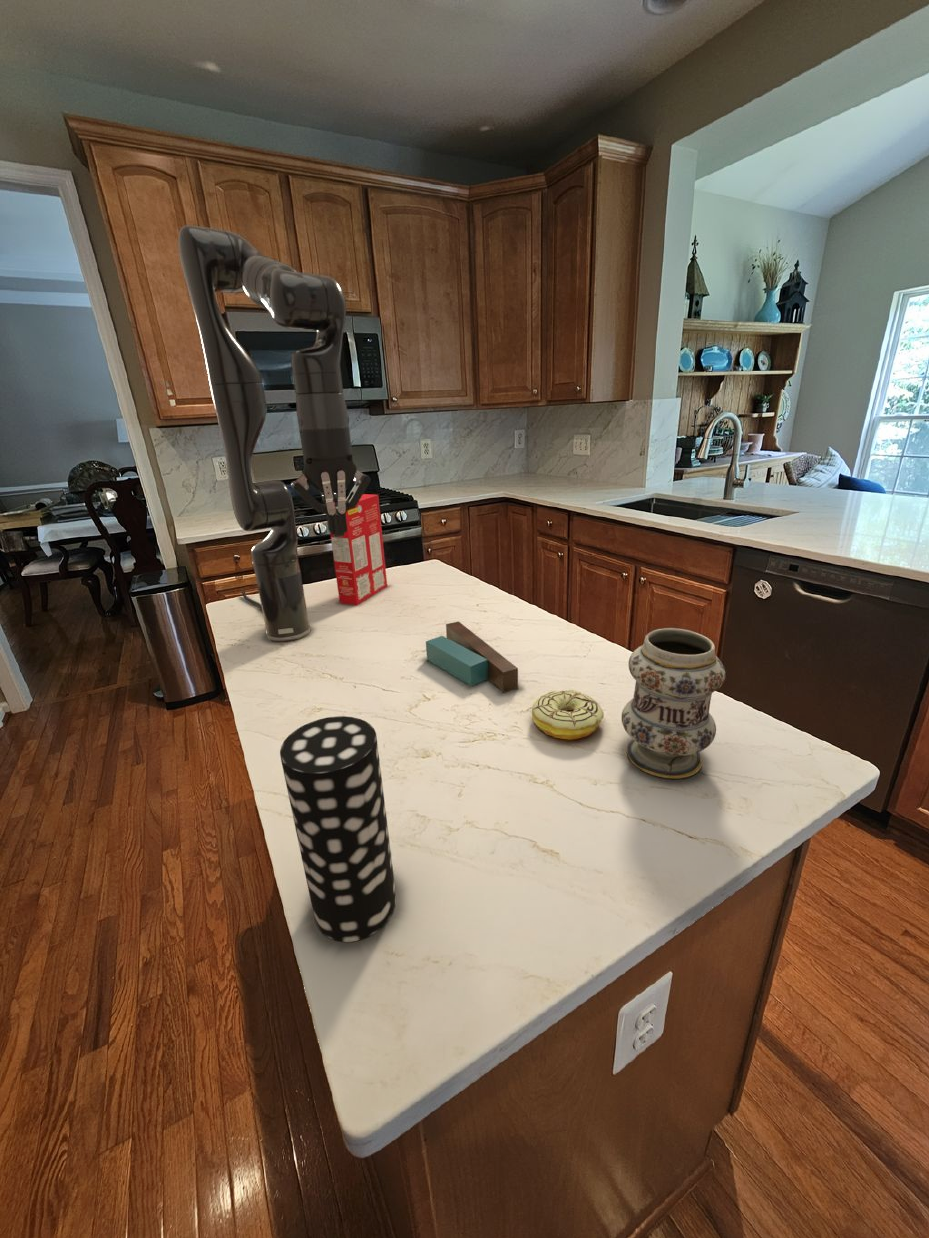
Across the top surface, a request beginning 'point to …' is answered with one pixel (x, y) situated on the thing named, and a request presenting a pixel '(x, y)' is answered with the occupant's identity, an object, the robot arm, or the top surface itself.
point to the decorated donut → (567, 714)
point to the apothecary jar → (672, 702)
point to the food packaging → (360, 553)
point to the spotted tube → (341, 825)
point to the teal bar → (457, 660)
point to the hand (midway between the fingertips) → (338, 535)
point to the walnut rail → (485, 656)
